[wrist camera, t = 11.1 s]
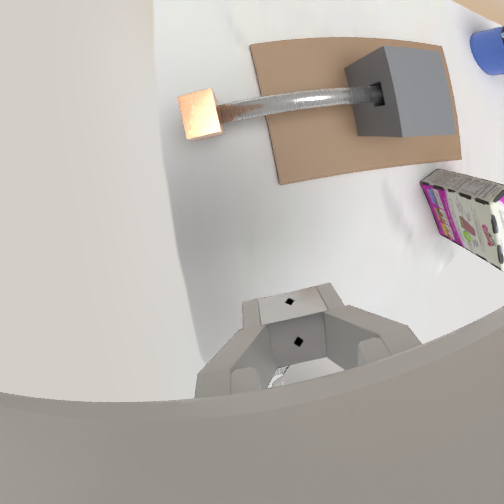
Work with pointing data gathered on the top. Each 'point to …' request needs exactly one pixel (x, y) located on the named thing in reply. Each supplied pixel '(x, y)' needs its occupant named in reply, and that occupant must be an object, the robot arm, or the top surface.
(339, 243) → the top surface
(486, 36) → the water bottle
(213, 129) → the shaft
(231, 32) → the top surface
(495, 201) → the candy bar box
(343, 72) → the bearing stand
